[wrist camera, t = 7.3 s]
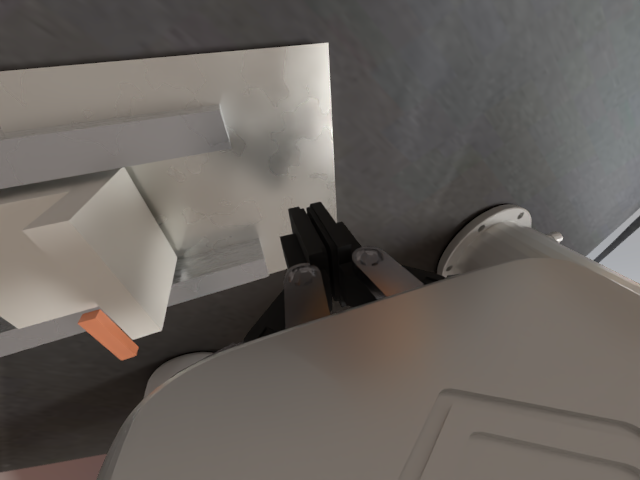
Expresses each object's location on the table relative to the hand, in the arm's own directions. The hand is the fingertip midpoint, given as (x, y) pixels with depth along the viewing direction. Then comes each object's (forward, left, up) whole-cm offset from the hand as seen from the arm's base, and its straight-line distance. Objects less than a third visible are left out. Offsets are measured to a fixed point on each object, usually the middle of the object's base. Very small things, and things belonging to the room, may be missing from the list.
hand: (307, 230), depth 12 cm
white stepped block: (+13, +1, -4) cm, 14 cm away
